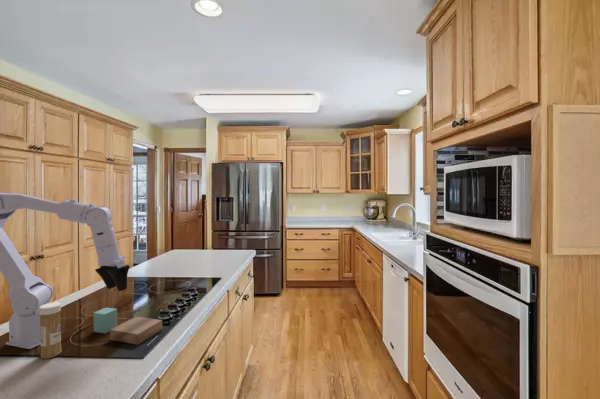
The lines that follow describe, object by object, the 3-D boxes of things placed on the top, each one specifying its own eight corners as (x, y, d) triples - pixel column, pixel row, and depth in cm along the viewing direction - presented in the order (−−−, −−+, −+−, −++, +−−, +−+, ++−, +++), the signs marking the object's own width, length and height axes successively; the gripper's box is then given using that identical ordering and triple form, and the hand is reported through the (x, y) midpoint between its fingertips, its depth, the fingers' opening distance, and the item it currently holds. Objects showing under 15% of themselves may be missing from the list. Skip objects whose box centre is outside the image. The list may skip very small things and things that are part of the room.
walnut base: (110, 339, 93) (109, 329, 93) (136, 325, 103) (136, 316, 103) (138, 344, 90) (137, 334, 90) (162, 329, 100) (162, 320, 100)
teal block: (93, 331, 98) (93, 312, 98) (106, 325, 103) (106, 307, 103) (105, 333, 97) (105, 314, 97) (117, 327, 102) (117, 308, 101)
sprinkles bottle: (61, 356, 84) (59, 305, 84) (38, 361, 82) (37, 309, 81) (62, 348, 88) (61, 300, 88) (41, 353, 86) (39, 303, 85)
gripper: (130, 242, 95) (141, 285, 96) (110, 242, 104) (120, 282, 105) (105, 249, 89) (117, 295, 91) (86, 249, 98) (97, 290, 100)
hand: (117, 288), depth 98 cm, fingers open, 7 cm apart
